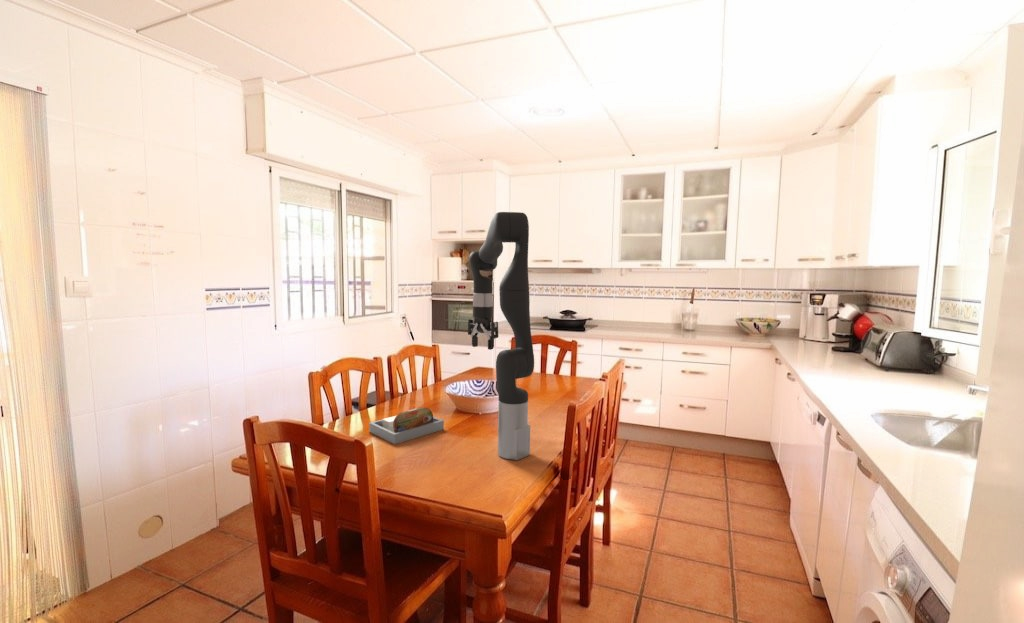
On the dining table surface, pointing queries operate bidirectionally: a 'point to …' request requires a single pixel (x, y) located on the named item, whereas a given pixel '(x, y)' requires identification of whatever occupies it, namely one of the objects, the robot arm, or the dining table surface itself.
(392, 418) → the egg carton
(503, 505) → the dining table surface
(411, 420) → the tin
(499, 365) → the robot arm
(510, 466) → the dining table surface
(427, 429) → the tray
